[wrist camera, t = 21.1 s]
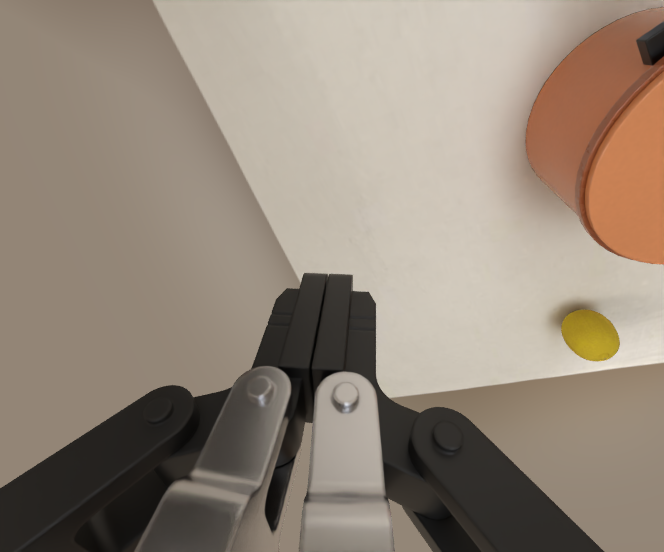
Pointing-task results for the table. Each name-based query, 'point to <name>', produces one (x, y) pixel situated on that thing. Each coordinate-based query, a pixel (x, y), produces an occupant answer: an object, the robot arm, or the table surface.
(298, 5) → the table surface
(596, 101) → the copper pot
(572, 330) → the lemon
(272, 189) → the table surface
